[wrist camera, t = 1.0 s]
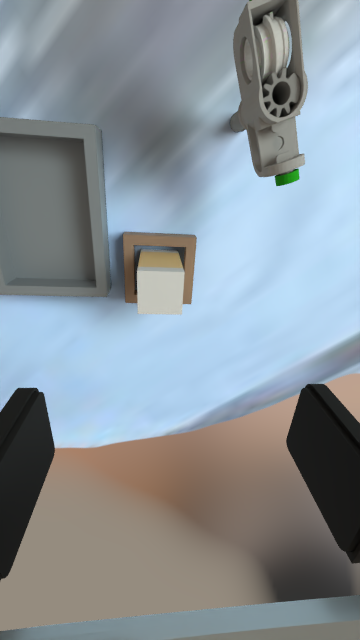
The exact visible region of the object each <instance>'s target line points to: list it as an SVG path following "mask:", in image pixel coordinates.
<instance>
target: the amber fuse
mask: <svg viewBox="0 0 360 640" xmlns="http://www.w3.org/2000/svg"><path fill="white" fill-rule="evenodd" d="M184 274H185V272H184V269H183V266H182V262H181V259H180V256H179V253H178V250H156V249H141V253H140V258H139V263H138V269H137V298H138V314H182V304H183V289H184Z"/></svg>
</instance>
